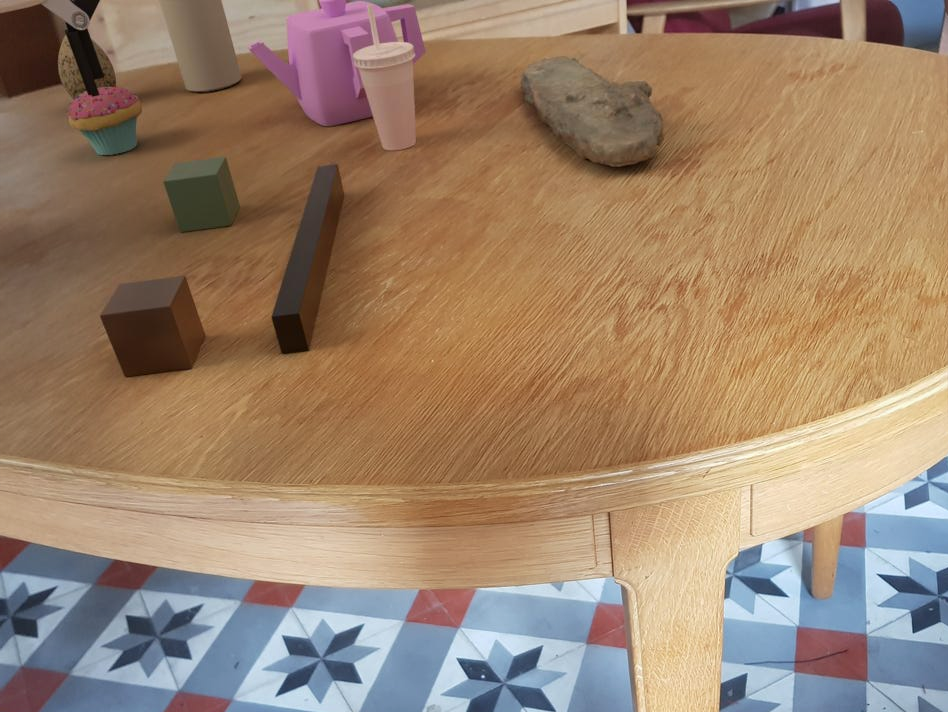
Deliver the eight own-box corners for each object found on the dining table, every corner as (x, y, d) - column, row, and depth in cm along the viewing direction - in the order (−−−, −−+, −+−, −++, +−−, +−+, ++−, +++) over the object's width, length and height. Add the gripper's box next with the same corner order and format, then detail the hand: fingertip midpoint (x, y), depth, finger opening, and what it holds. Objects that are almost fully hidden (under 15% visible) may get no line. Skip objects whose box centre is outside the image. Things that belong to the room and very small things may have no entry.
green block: (179, 232, 90) (162, 181, 87) (190, 212, 94) (174, 163, 91) (231, 226, 90) (215, 174, 87) (240, 206, 94) (225, 156, 91)
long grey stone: (585, 85, 116) (507, 105, 115) (579, 39, 113) (499, 59, 112) (691, 157, 87) (588, 183, 87) (688, 97, 84) (580, 124, 84)
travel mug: (190, 97, 130) (146, -50, 120) (183, 85, 137) (140, -56, 126) (246, 84, 132) (208, -62, 121) (237, 73, 138) (199, -67, 127)
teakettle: (382, 128, 108) (361, 10, 101) (259, 128, 114) (230, 17, 107) (443, 83, 120) (428, -25, 113) (328, 85, 126) (307, -17, 119)
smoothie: (363, 143, 105) (336, 5, 96) (418, 130, 106) (396, -7, 97) (379, 159, 100) (352, 15, 91) (436, 145, 101) (415, 2, 93)
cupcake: (71, 154, 116) (31, 49, 108) (135, 132, 120) (100, 30, 112) (100, 166, 110) (60, 57, 103) (166, 143, 114) (131, 37, 107)
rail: (281, 354, 68) (270, 316, 66) (324, 196, 93) (317, 166, 91) (309, 350, 68) (299, 313, 66) (344, 194, 93) (337, 163, 91)
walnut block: (124, 377, 68) (99, 315, 65) (141, 343, 72) (118, 283, 69) (192, 368, 68) (169, 306, 65) (205, 335, 72) (185, 274, 69)
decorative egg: (83, 102, 136) (55, 27, 130) (131, 96, 135) (105, 20, 129) (65, 117, 130) (36, 40, 124) (115, 111, 130) (88, 33, 124)
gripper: (46, -224, 58) (142, 69, 68) (-265, -177, 54) (-113, 128, 64) (52, -231, 52) (156, 90, 63) (-295, -179, 48) (-123, 156, 58)
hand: (20, 109), depth 63 cm, fingers open, 9 cm apart
